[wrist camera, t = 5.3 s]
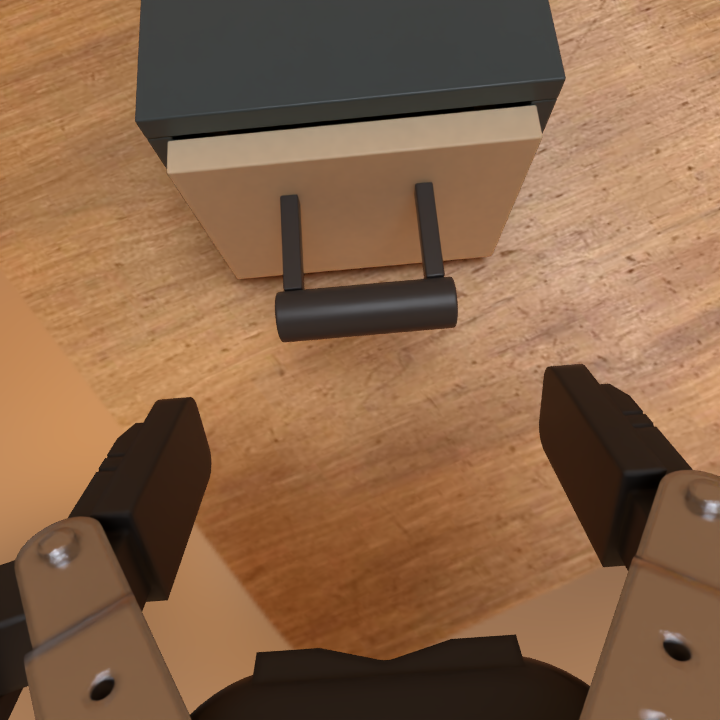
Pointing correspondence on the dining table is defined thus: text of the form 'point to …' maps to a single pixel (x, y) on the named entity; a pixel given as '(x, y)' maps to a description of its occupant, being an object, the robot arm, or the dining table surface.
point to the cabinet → (336, 61)
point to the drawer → (359, 208)
